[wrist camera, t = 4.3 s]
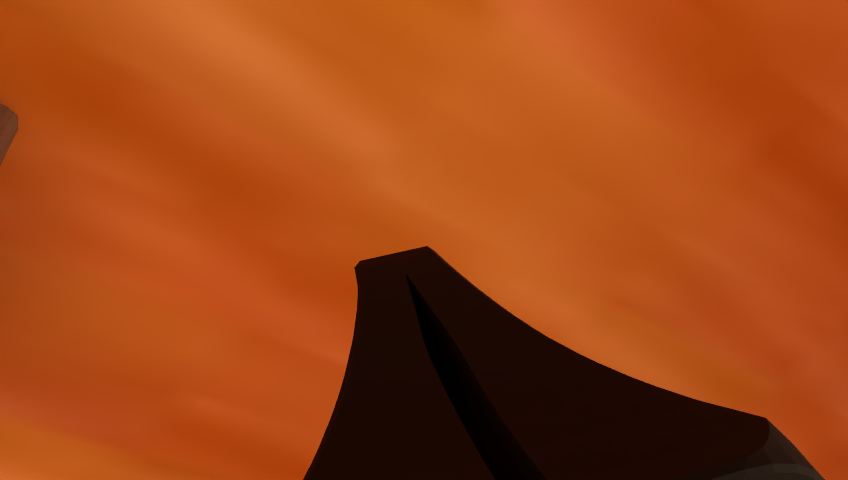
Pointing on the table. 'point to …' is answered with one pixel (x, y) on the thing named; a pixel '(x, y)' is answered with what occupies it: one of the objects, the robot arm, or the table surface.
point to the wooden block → (7, 129)
